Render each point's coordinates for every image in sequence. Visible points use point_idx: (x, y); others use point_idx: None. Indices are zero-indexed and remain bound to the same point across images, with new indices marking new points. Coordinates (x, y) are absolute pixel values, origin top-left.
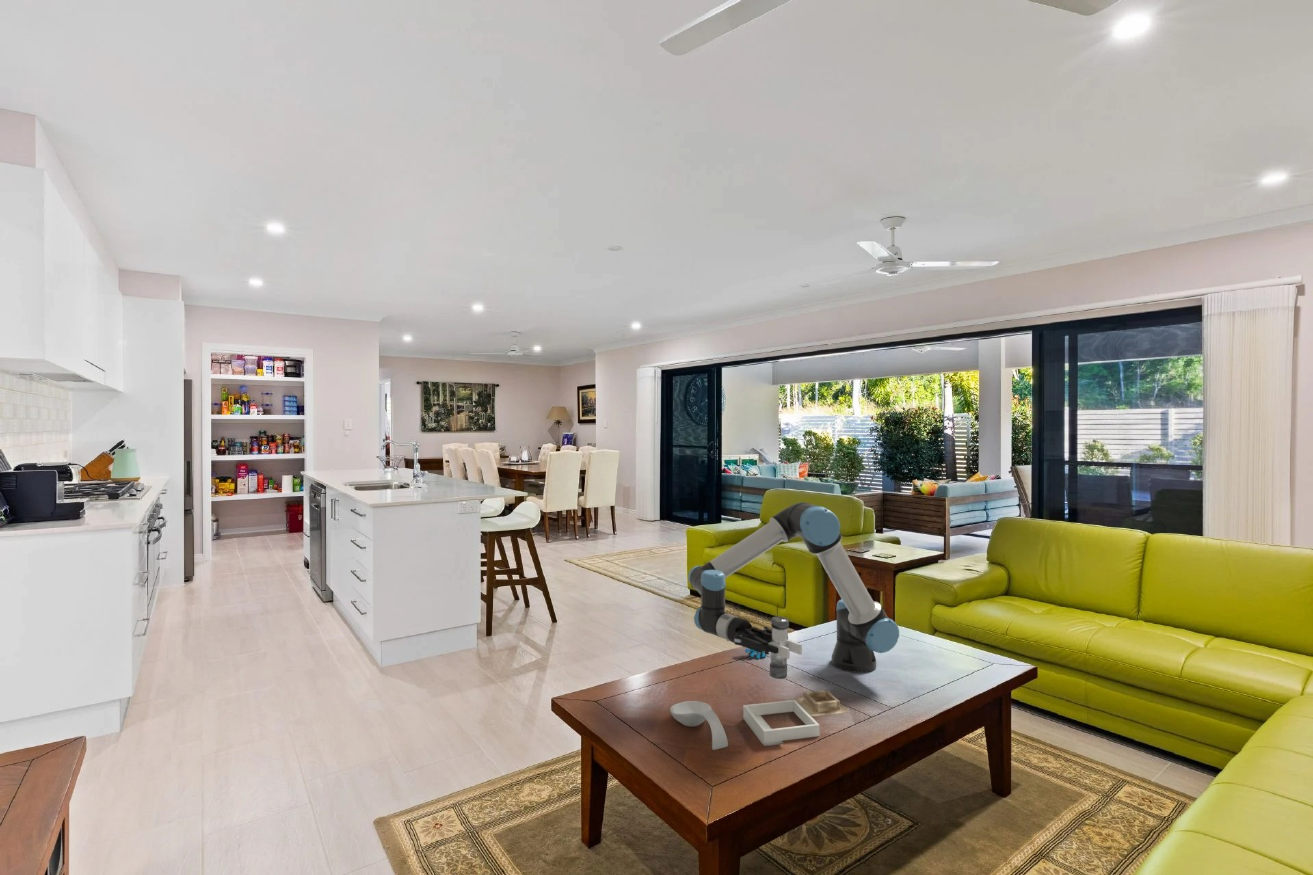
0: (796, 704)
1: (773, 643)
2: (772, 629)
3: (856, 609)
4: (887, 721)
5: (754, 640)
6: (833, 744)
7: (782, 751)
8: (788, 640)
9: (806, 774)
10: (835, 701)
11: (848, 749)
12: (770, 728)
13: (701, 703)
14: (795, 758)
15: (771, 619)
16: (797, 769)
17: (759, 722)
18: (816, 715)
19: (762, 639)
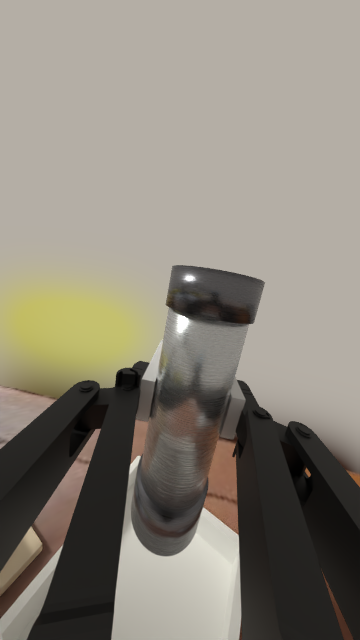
0: (37, 590)
1: (236, 386)
2: (245, 336)
3: None
4: (21, 417)
5: (342, 498)
6: (137, 450)
7: (217, 509)
8: (157, 363)
9: (226, 444)
10: None
11: (139, 429)
12: (173, 625)
13: None
14: (213, 475)
15: (257, 285)
16: (229, 458)
17: (233, 610)
18: (33, 534)
19: (258, 460)
